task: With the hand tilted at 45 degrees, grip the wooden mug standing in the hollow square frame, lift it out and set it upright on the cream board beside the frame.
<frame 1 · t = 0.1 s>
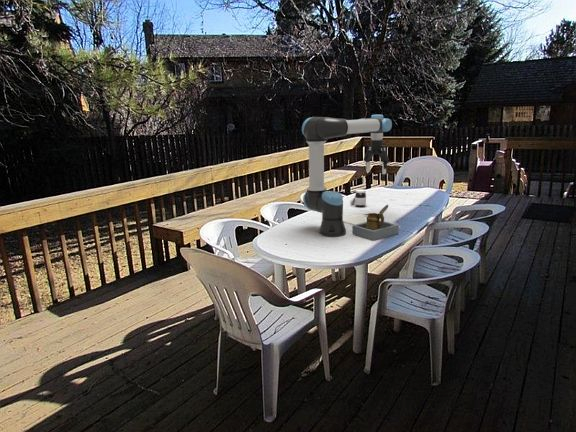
hand: (376, 172, 276), 28 cm above the table, tool pointing down, fingers open, 13 cm apart
cream board: (355, 220, 271), on the table
hollow square frame: (375, 233, 241), on the table
wooden mug: (376, 234, 240), resting in hollow square frame
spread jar: (357, 206, 310), on the table
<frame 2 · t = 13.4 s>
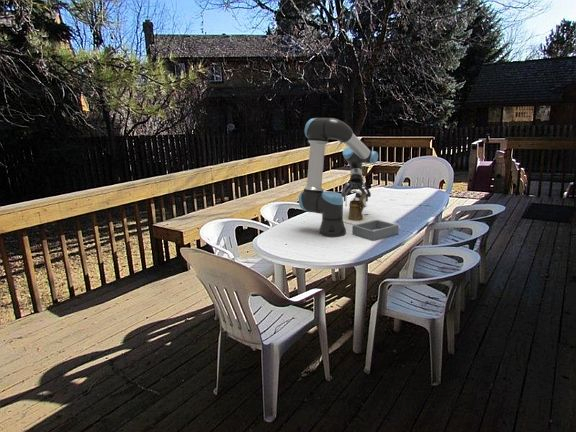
hand: (355, 205, 266), 10 cm above the table, tool tilted 45°, fingers open, 11 cm apart
wooden mug: (358, 219, 270), point 1 cm above the table, touching gripper
everything else where it was.
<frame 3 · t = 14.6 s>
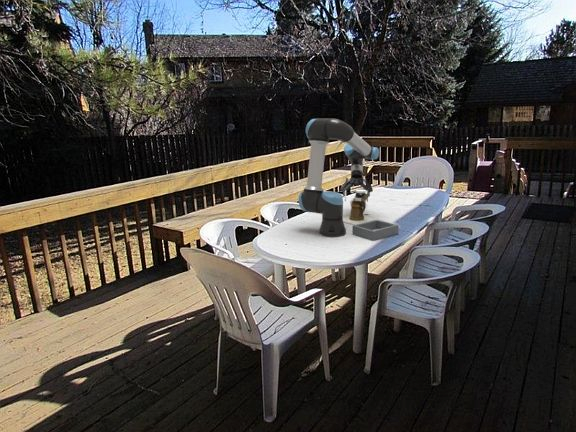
hand: (356, 200, 268), 13 cm above the table, tool tilted 45°, fingers open, 13 cm apart
wooden mug: (359, 219, 270), resting on cream board, touching gripper
everything else where it was.
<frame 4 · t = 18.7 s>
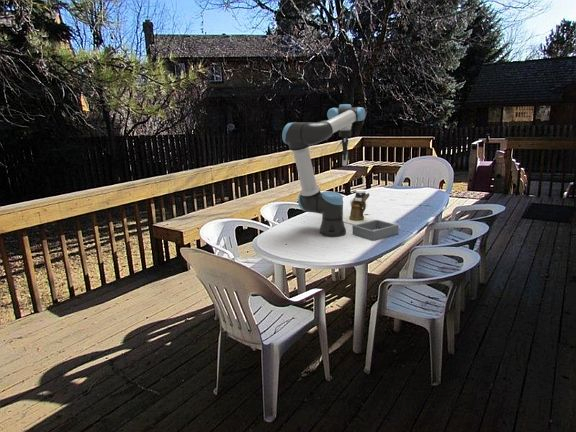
hand: (344, 164, 270), 35 cm above the table, tool pointing down, fingers open, 13 cm apart
wooden mug: (359, 219, 270), resting on cream board
everything else where it was.
at the end: wooden mug inside the target area on the cream board (2.5 cm from its centre), point 0.4 cm above the cream board's base; wooden mug tilted 0°; the gripper is holding nothing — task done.
